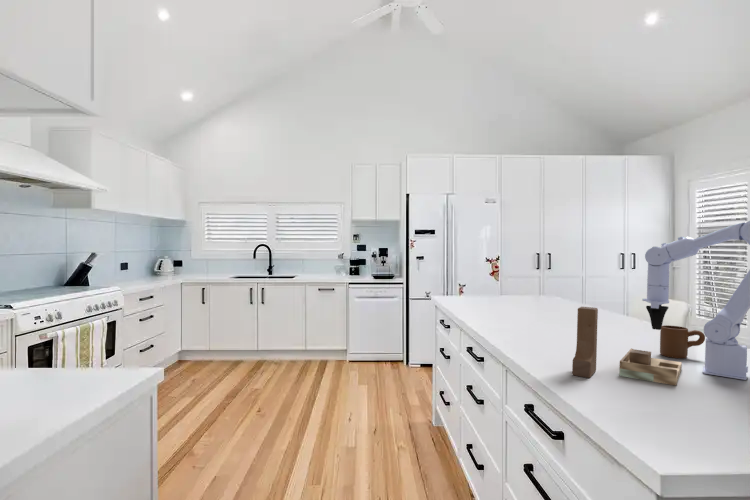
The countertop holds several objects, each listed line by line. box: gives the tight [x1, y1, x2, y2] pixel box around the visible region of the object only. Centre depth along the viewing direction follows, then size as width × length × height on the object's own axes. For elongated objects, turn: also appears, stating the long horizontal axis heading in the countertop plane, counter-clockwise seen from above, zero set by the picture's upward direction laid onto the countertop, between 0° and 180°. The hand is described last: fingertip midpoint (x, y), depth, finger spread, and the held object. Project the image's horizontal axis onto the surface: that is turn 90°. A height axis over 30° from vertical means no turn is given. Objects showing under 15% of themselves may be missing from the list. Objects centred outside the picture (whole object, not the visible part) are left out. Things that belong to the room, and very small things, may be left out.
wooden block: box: [571, 306, 599, 379], centre depth 124 cm, size 9×4×18 cm, turn 144°
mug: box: [659, 324, 706, 359], centre depth 146 cm, size 12×8×9 cm, turn 58°
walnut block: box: [629, 348, 652, 366], centre depth 123 cm, size 4×4×4 cm
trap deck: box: [618, 348, 683, 387], centre depth 127 cm, size 13×20×4 cm, turn 142°
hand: (656, 329), depth 140 cm, fingers closed
